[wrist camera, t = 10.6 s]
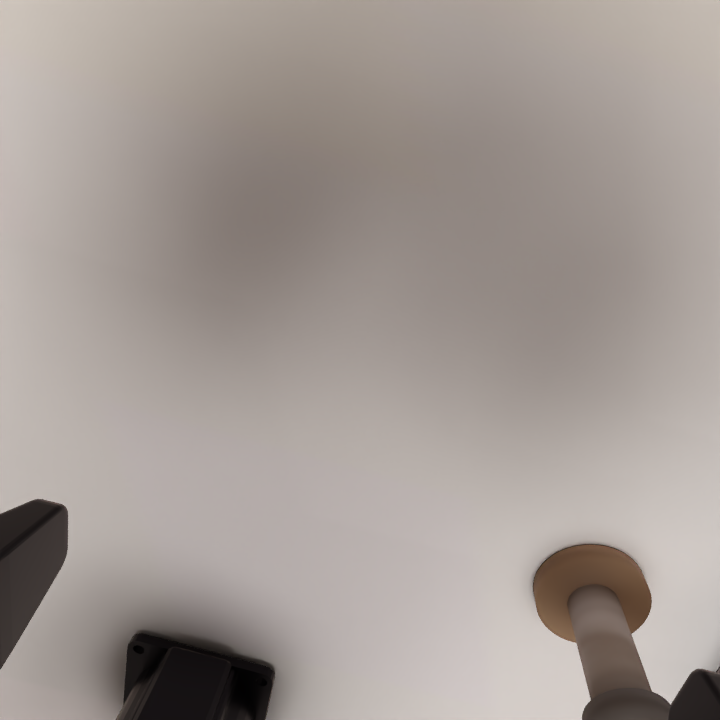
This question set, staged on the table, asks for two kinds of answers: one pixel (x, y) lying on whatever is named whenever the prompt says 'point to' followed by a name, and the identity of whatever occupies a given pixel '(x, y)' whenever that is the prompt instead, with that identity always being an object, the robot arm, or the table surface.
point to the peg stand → (601, 626)
